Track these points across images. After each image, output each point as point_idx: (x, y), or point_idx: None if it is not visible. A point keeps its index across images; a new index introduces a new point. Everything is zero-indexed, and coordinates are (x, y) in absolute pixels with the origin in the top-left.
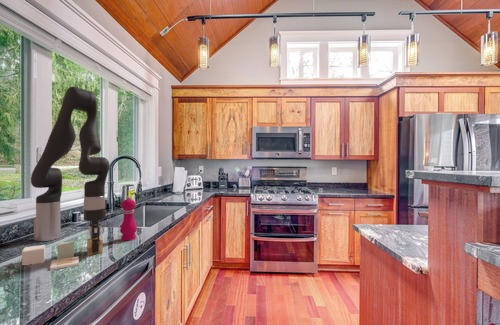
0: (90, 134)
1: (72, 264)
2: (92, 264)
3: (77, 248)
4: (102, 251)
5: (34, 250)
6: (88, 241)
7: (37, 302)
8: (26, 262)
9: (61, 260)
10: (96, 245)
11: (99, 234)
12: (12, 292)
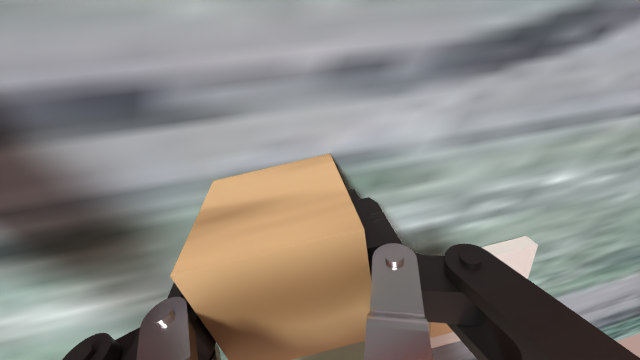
0: None
1: (527, 265)
2: (573, 168)
3: None
4: (332, 159)
5: None
6: (355, 338)
7: None
8: None
9: (442, 325)
10: (394, 240)
11: (428, 345)
12: (635, 327)
